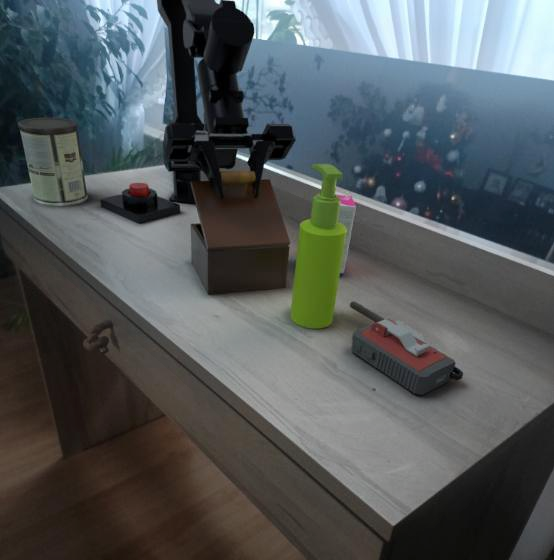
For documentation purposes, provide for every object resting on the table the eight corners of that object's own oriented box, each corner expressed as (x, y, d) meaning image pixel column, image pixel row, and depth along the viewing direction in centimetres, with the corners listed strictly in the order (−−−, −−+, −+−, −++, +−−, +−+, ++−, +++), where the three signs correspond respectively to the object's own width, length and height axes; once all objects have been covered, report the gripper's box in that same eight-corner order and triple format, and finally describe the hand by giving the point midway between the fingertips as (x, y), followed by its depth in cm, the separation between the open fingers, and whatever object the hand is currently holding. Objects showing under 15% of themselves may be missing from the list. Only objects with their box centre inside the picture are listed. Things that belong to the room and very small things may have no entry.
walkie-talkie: (471, 379, 62) (354, 309, 74) (482, 349, 60) (359, 282, 72) (425, 404, 57) (309, 325, 70) (435, 372, 55) (312, 296, 67)
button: (141, 190, 102) (140, 181, 101) (152, 195, 100) (152, 186, 99) (126, 193, 99) (125, 184, 98) (137, 198, 98) (137, 189, 97)
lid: (190, 184, 75) (193, 163, 72) (268, 182, 79) (274, 162, 76) (207, 251, 71) (210, 231, 67) (289, 245, 75) (296, 227, 71)
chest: (191, 263, 83) (190, 223, 79) (262, 258, 87) (265, 219, 83) (207, 295, 75) (207, 252, 71) (285, 287, 79) (289, 246, 75)
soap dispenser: (320, 302, 75) (339, 160, 64) (339, 326, 70) (364, 175, 59) (282, 306, 74) (295, 160, 62) (299, 330, 68) (317, 176, 57)
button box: (142, 197, 108) (140, 180, 106) (180, 213, 102) (179, 195, 100) (100, 207, 101) (98, 189, 99) (139, 224, 95) (137, 205, 93)
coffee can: (48, 188, 108) (35, 114, 100) (96, 193, 108) (86, 120, 99) (23, 203, 100) (6, 124, 91) (74, 209, 99) (62, 130, 91)
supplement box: (344, 276, 83) (356, 206, 77) (308, 273, 83) (317, 203, 77) (341, 262, 88) (352, 194, 82) (307, 259, 88) (315, 191, 81)
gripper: (266, 129, 86) (282, 217, 85) (153, 128, 80) (169, 223, 79) (287, 85, 75) (306, 185, 74) (159, 80, 70) (177, 189, 68)
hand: (239, 197), depth 74 cm, fingers closed on lid, 5 cm apart
